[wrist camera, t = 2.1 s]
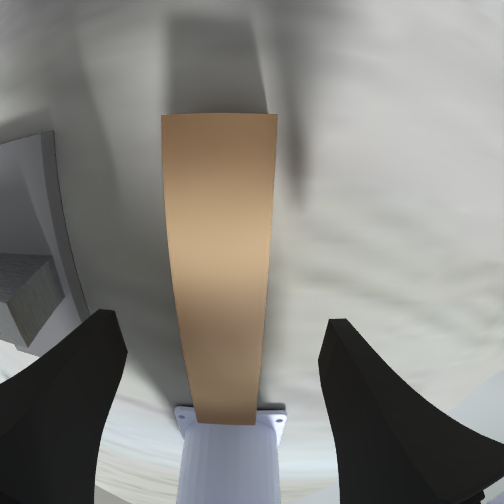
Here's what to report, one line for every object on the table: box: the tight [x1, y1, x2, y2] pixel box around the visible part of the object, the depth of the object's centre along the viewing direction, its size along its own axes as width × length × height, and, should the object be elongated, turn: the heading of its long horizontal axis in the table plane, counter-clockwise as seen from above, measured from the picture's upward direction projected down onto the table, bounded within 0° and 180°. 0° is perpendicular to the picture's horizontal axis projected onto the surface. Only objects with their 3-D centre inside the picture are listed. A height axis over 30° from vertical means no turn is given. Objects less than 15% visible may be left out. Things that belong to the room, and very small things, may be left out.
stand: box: [0, 131, 90, 357], centre depth 11 cm, size 14×8×5 cm, turn 178°
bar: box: [161, 113, 278, 425], centre depth 12 cm, size 14×3×4 cm, turn 178°
